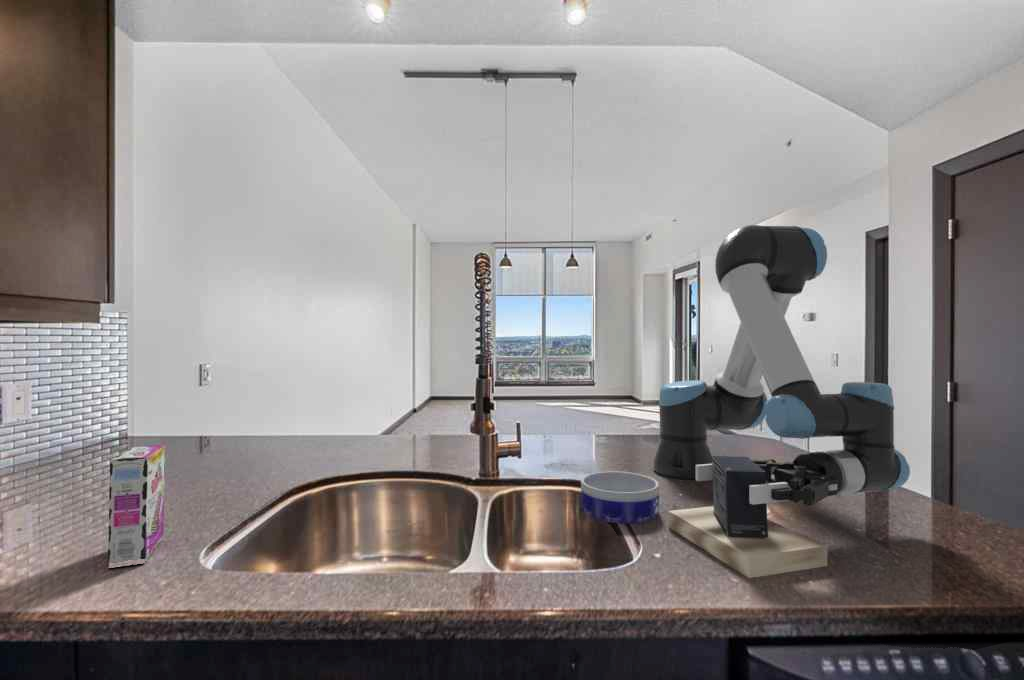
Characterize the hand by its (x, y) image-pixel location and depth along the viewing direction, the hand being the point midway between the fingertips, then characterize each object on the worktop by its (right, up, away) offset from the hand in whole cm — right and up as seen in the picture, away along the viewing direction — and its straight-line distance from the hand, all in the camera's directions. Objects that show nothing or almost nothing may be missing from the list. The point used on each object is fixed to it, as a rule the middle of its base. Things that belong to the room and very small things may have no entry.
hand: (721, 483), depth 80 cm
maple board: (+3, -10, +1) cm, 11 cm away
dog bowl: (-13, -11, +18) cm, 25 cm away
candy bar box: (-94, -11, -1) cm, 95 cm away
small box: (+4, -7, +1) cm, 8 cm away
